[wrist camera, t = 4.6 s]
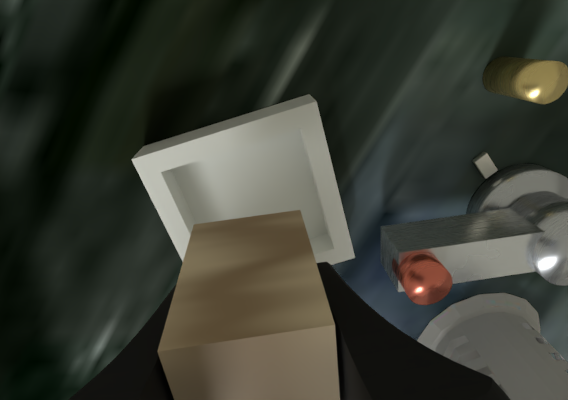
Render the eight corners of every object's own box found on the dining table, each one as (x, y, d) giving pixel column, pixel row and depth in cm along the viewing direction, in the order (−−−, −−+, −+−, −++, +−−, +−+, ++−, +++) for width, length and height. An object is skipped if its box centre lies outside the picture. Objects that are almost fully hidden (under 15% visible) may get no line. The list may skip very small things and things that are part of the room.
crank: (574, 186, 20) (645, 219, 17) (559, 247, 22) (620, 289, 18) (379, 214, 20) (408, 254, 16) (379, 273, 22) (405, 322, 18)
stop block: (300, 209, 14) (334, 324, 8) (308, 294, 15) (342, 436, 10) (193, 224, 14) (157, 351, 8) (214, 308, 15) (195, 460, 10)
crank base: (468, 261, 24) (502, 295, 21) (453, 71, 19) (495, 79, 16) (558, 234, 24) (605, 265, 21) (567, 35, 19) (633, 36, 15)
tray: (207, 279, 23) (203, 302, 21) (143, 146, 19) (131, 159, 17) (345, 237, 22) (355, 257, 20) (309, 94, 19) (316, 101, 17)
